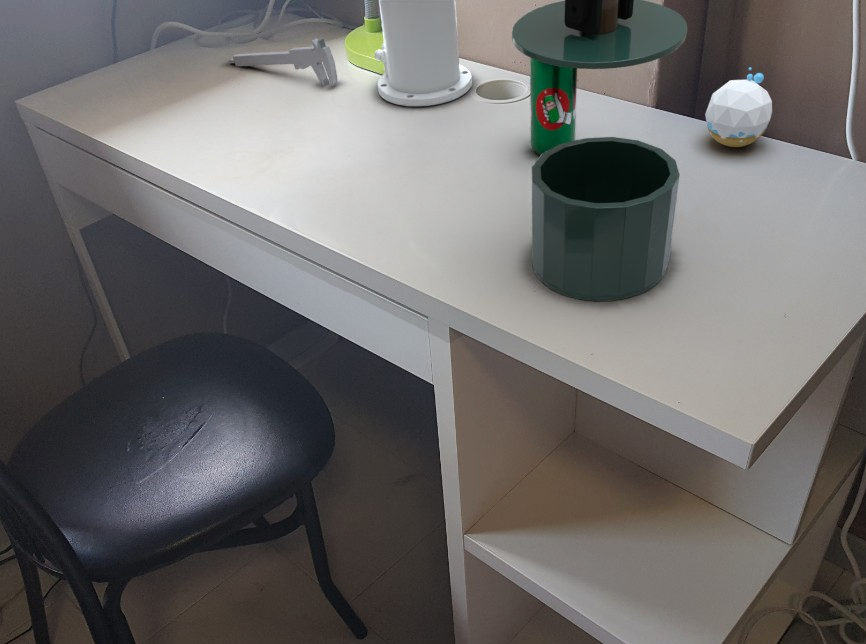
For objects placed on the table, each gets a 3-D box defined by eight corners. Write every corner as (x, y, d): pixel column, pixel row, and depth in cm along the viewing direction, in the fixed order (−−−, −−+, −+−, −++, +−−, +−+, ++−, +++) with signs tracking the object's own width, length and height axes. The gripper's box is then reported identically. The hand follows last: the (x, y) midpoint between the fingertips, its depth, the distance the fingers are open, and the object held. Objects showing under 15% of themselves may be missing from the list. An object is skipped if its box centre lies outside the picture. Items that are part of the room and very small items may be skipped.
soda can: (549, 134, 100) (550, 30, 91) (583, 146, 97) (587, 40, 89) (521, 151, 97) (520, 45, 89) (556, 163, 94) (557, 55, 86)
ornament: (749, 164, 91) (763, 92, 86) (689, 148, 95) (699, 78, 89) (777, 139, 95) (791, 68, 89) (718, 125, 98) (728, 56, 93)
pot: (505, 264, 81) (502, 174, 74) (592, 212, 86) (596, 124, 80) (606, 319, 73) (613, 224, 67) (694, 258, 79) (708, 165, 73)
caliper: (339, 85, 115) (331, 38, 111) (334, 88, 115) (326, 41, 110) (233, 62, 125) (223, 18, 120) (228, 65, 124) (217, 20, 120)
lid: (476, 47, 68) (473, -35, 63) (589, -2, 74) (592, -79, 69) (607, 93, 60) (613, 4, 56) (721, 35, 66) (734, -50, 62)
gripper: (648, -296, 59) (627, -16, 72) (480, -260, 52) (490, 44, 64) (741, -295, 55) (701, 2, 67) (572, -256, 47) (563, 69, 60)
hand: (598, 20), depth 66 cm, fingers closed on lid, 3 cm apart
